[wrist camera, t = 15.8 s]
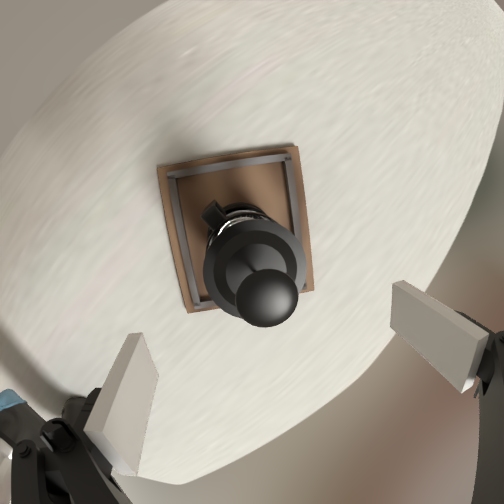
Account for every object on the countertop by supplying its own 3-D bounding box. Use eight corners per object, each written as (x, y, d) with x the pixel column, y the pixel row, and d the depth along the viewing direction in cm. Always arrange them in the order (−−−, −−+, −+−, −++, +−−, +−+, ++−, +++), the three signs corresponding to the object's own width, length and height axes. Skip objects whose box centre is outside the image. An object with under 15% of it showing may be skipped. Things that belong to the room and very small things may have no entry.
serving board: (188, 310, 43) (186, 316, 41) (158, 168, 38) (155, 167, 35) (312, 287, 45) (316, 293, 42) (295, 146, 39) (300, 145, 37)
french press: (289, 240, 41) (364, 306, 19) (241, 283, 42) (266, 385, 20) (235, 179, 38) (258, 174, 16) (185, 225, 39) (144, 280, 17)
